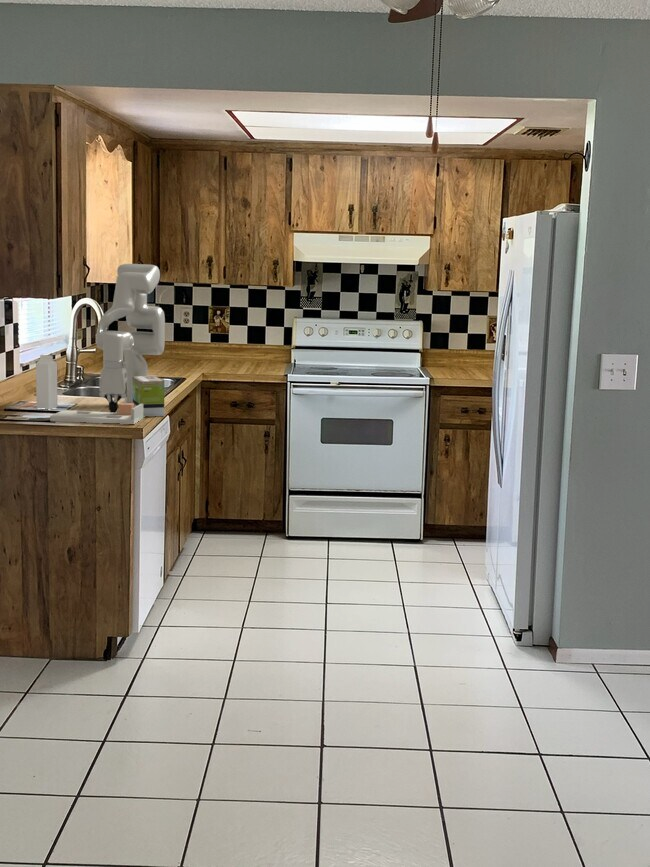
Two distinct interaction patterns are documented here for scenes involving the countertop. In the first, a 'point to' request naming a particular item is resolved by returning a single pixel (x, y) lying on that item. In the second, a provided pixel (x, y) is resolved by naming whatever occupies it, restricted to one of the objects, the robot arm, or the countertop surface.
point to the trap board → (99, 416)
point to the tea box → (149, 395)
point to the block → (125, 408)
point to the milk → (46, 382)
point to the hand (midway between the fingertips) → (113, 412)
